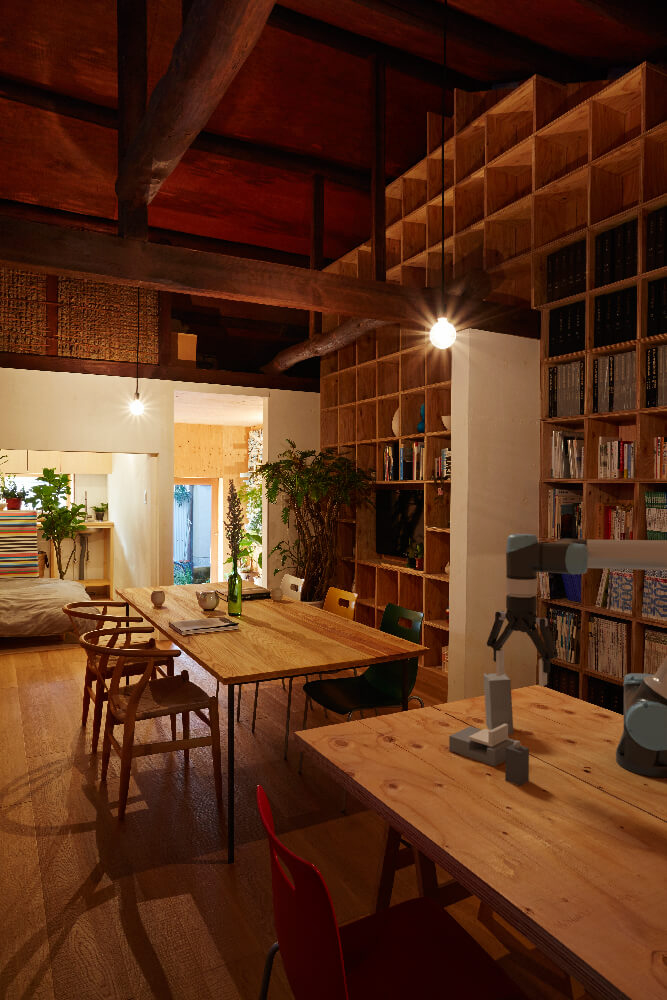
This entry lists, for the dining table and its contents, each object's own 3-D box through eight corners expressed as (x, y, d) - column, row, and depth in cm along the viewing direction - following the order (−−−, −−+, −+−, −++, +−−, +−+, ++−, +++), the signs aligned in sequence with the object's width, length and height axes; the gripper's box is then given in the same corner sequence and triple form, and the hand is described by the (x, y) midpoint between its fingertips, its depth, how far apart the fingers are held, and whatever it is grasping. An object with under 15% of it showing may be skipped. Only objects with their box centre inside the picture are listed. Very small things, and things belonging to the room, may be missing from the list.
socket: (514, 755, 171) (515, 740, 171) (494, 766, 164) (494, 750, 164) (470, 740, 181) (470, 726, 181) (449, 750, 174) (449, 735, 174)
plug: (528, 780, 156) (528, 741, 156) (520, 786, 154) (520, 746, 153) (513, 775, 159) (514, 737, 159) (505, 780, 157) (505, 741, 156)
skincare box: (513, 734, 185) (514, 680, 185) (489, 734, 186) (489, 680, 185) (506, 724, 194) (506, 671, 194) (482, 723, 194) (483, 671, 194)
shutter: (508, 738, 172) (508, 724, 172) (491, 747, 166) (491, 732, 166) (485, 731, 177) (485, 717, 177) (468, 739, 171) (468, 725, 171)
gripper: (573, 598, 158) (572, 686, 158) (488, 587, 175) (488, 667, 175) (558, 602, 153) (558, 693, 153) (473, 590, 170) (473, 673, 170)
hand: (521, 679), depth 164 cm, fingers open, 11 cm apart
